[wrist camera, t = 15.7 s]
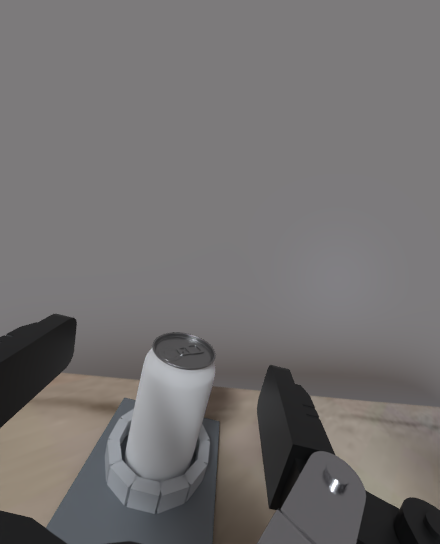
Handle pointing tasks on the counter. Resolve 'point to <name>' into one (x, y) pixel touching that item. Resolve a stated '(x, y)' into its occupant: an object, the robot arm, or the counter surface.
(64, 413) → the counter surface
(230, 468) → the counter surface
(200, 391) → the can
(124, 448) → the holder
